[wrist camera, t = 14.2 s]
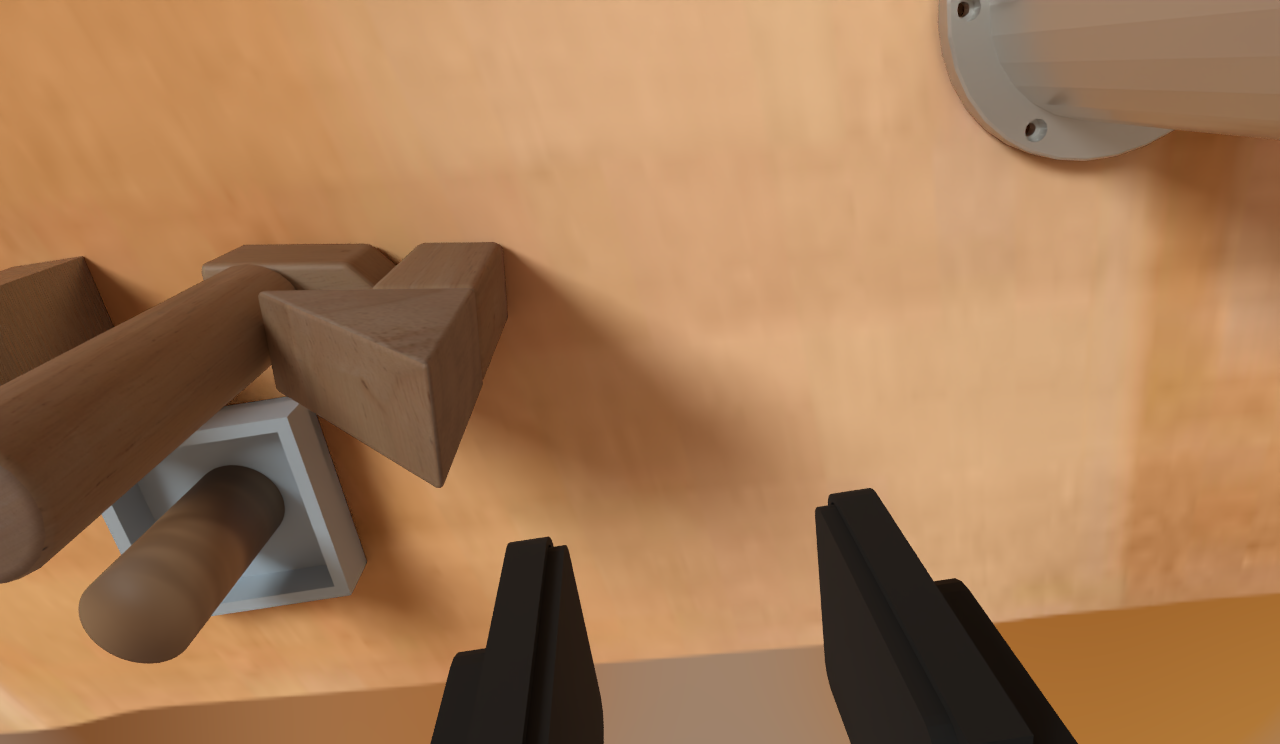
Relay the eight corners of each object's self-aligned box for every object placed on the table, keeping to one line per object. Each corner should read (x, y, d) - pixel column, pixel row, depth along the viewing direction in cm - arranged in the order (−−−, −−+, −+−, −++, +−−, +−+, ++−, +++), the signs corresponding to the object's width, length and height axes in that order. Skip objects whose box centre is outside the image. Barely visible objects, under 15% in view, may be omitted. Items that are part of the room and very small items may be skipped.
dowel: (267, 458, 34) (167, 565, 26) (296, 532, 35) (210, 654, 28) (181, 472, 34) (58, 583, 26) (214, 546, 35) (107, 670, 28)
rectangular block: (82, 256, 31) (-84, 314, 23) (140, 388, 33) (5, 480, 25) (11, 267, 31) (-178, 329, 23) (73, 399, 33) (-81, 494, 25)
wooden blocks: (509, 322, 33) (410, 584, 16) (257, 326, 32) (-118, 600, 15) (503, 238, 31) (388, 429, 14) (240, 241, 31) (-192, 441, 14)
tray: (308, 393, 33) (286, 417, 31) (367, 562, 37) (351, 595, 34) (107, 424, 33) (70, 450, 31) (183, 589, 37) (155, 624, 35)
